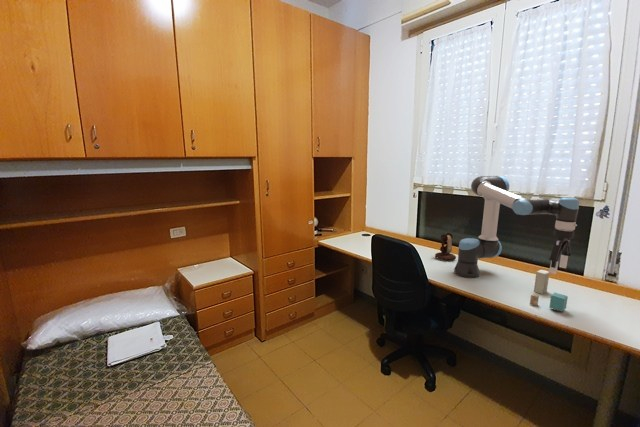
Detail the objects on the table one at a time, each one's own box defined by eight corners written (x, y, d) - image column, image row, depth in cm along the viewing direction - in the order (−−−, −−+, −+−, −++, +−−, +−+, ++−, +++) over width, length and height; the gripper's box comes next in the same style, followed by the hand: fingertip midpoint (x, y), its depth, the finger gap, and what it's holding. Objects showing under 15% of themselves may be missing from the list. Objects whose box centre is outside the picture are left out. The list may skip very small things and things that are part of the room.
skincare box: (538, 288, 171) (540, 269, 169) (547, 291, 167) (550, 271, 165) (533, 291, 167) (536, 271, 165) (542, 294, 164) (545, 273, 162)
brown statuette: (449, 263, 215) (451, 237, 211) (431, 258, 226) (432, 233, 223) (459, 259, 223) (461, 234, 220) (441, 254, 235) (443, 230, 232)
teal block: (549, 307, 147) (551, 295, 146) (553, 304, 150) (554, 292, 149) (562, 311, 143) (564, 299, 142) (565, 308, 146) (567, 296, 144)
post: (529, 304, 152) (531, 295, 152) (531, 302, 154) (533, 293, 153) (535, 306, 150) (536, 296, 150) (537, 304, 152) (538, 295, 151)
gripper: (565, 234, 132) (557, 278, 136) (582, 227, 146) (575, 267, 150) (545, 231, 138) (539, 273, 142) (564, 224, 152) (557, 263, 156)
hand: (557, 270), depth 146 cm, fingers open, 13 cm apart
